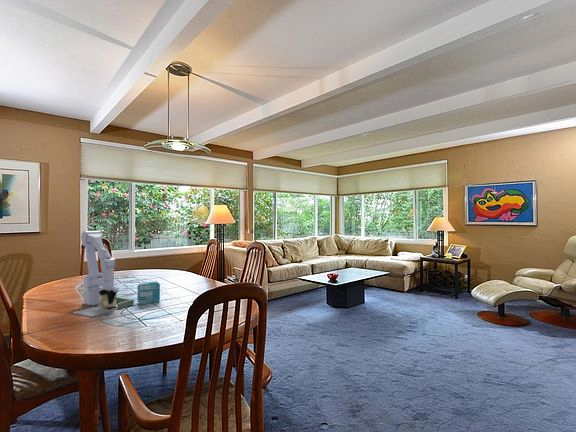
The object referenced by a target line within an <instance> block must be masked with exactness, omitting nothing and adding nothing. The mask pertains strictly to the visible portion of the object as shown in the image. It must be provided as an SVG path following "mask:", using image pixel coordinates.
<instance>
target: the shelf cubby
mask: <svg viewBox="0 0 576 432" xmlns="http://www.w3.org/2000/svg"><path fill="white" fill-rule="evenodd" d="M134 301H135V300H134V299H133V298H125V297H120V296H117V305H116V306H117V307H116V308H117V310H120V309H123V308H127V307H129V306H133V305H135V304H134Z"/></svg>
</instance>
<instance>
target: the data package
mask: <svg viewBox="0 0 576 432" xmlns="http://www.w3.org/2000/svg"><path fill="white" fill-rule="evenodd" d="M160 298H161V284H160V282H158V281H149V282H140V283H138V285H137V298H136V299H137V303H138V304H139V305H147V304H153V303H159V302H160V300H161V299H160Z"/></svg>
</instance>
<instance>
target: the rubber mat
mask: <svg viewBox="0 0 576 432" xmlns="http://www.w3.org/2000/svg"><path fill="white" fill-rule="evenodd" d="M113 311H114V309H109V308H106V309H105V308H101V307H97V306H92V307H88V308H85V309H81V310H77V311H72V314H73V315H78V316H83V317H88V318H94V317H97V316H100V315H104V314H108V313H110V312H113Z"/></svg>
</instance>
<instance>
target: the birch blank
mask: <svg viewBox="0 0 576 432" xmlns="http://www.w3.org/2000/svg"><path fill="white" fill-rule="evenodd" d="M117 297H118V295H117V293H116V295H115V297H114V300H113V303H112V304H109V303H108V296H107V294H104V295H101V303H100V308H104V309H109V308H112V307H115V306H118V303H117Z"/></svg>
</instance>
